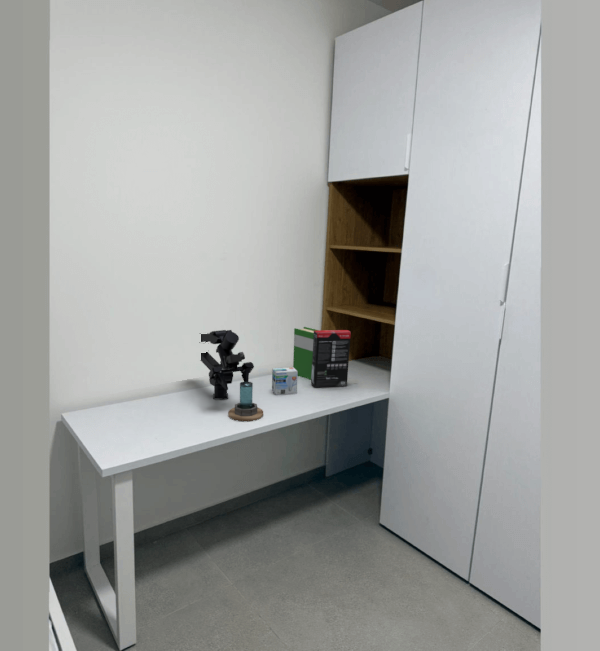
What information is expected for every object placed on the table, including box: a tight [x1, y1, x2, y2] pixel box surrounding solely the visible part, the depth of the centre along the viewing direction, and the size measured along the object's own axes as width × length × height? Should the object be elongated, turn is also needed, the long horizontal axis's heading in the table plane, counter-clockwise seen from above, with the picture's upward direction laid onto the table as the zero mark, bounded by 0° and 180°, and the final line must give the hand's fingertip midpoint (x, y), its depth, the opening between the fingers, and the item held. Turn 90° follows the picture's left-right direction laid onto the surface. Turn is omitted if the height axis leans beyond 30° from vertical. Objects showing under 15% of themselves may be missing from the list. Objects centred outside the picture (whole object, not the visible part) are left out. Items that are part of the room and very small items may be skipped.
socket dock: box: [227, 402, 264, 422], centre depth 202 cm, size 14×14×4 cm
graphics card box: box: [310, 329, 352, 388], centre depth 240 cm, size 17×7×27 cm, turn 105°
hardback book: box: [292, 326, 317, 381], centre depth 254 cm, size 18×7×24 cm, turn 42°
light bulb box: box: [271, 366, 298, 396], centre depth 230 cm, size 11×7×11 cm, turn 108°
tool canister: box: [239, 381, 254, 409], centre depth 201 cm, size 5×5×12 cm
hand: (237, 388), depth 207 cm, fingers open, 9 cm apart
